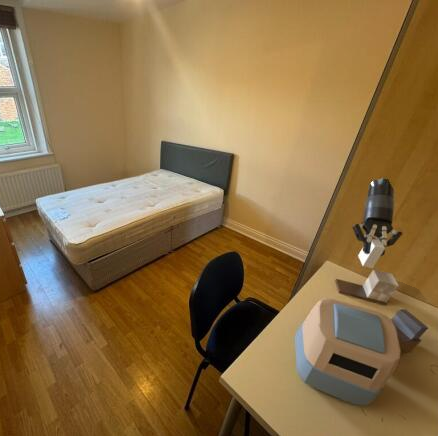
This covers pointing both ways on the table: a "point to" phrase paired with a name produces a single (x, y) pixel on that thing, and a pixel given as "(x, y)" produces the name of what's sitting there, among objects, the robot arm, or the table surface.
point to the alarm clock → (346, 350)
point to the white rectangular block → (372, 253)
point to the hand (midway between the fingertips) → (373, 254)
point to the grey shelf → (406, 342)
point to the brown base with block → (370, 287)
